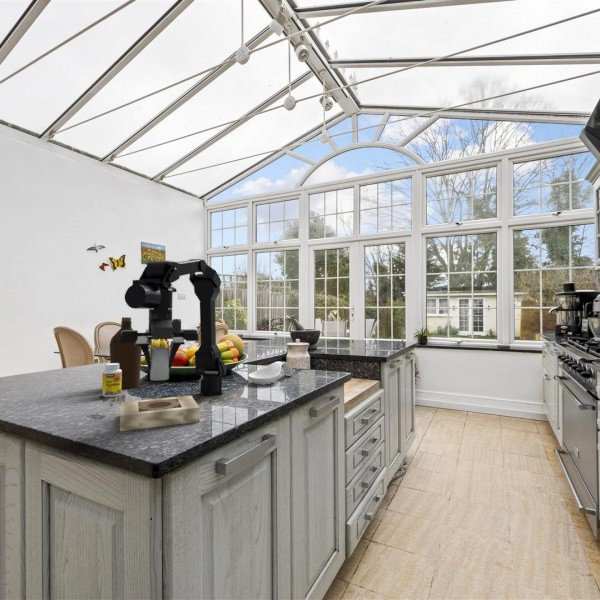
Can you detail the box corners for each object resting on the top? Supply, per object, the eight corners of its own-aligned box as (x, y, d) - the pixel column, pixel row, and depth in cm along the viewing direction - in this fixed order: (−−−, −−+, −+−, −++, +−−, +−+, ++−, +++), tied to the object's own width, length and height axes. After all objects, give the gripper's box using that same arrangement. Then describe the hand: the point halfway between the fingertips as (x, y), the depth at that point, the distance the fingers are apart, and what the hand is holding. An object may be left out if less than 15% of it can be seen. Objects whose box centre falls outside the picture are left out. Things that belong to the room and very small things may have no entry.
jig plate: (190, 407, 106) (191, 395, 106) (199, 421, 93) (199, 407, 93) (120, 415, 98) (121, 402, 99) (120, 431, 86) (120, 416, 86)
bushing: (167, 376, 99) (168, 346, 99) (169, 379, 95) (170, 347, 95) (149, 378, 97) (150, 346, 98) (150, 381, 93) (151, 348, 93)
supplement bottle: (103, 398, 117) (103, 365, 117) (101, 394, 122) (101, 363, 122) (122, 396, 120) (123, 364, 120) (120, 392, 125) (120, 362, 125)
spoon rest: (268, 388, 133) (268, 368, 133) (241, 385, 139) (242, 366, 139) (300, 378, 154) (300, 360, 154) (276, 375, 159) (276, 358, 160)
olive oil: (137, 389, 130) (137, 317, 130) (104, 390, 128) (105, 317, 129) (144, 383, 140) (145, 317, 141) (114, 384, 139) (115, 317, 139)
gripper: (120, 308, 85) (119, 376, 85) (202, 309, 93) (202, 371, 93) (121, 308, 96) (119, 369, 95) (195, 309, 103) (194, 365, 103)
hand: (159, 369), depth 96 cm, fingers closed on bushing, 4 cm apart
